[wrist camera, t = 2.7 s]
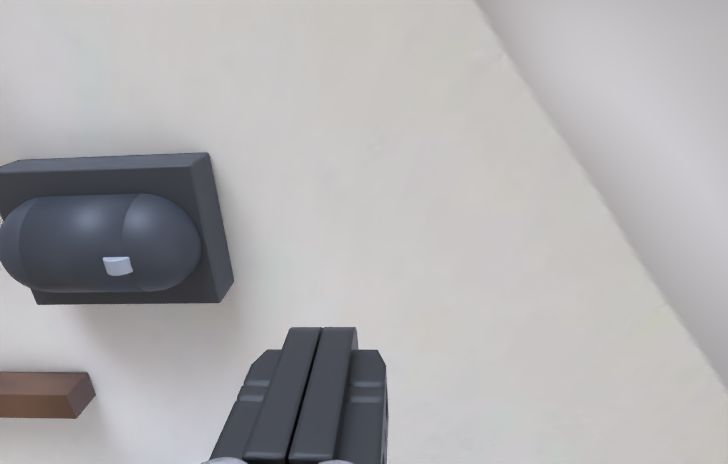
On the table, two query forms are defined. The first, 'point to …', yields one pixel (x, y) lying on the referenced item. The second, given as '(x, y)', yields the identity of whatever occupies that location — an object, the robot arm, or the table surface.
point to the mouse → (115, 229)
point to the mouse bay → (44, 394)
